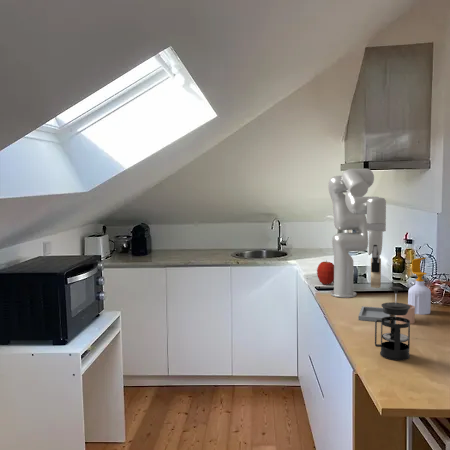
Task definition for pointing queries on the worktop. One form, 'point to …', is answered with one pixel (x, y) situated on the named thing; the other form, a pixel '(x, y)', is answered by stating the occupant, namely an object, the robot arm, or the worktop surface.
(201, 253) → the worktop surface
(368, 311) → the tray
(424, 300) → the soap bottle
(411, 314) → the cup
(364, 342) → the worktop surface
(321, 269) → the apple
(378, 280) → the dowel
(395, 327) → the french press
